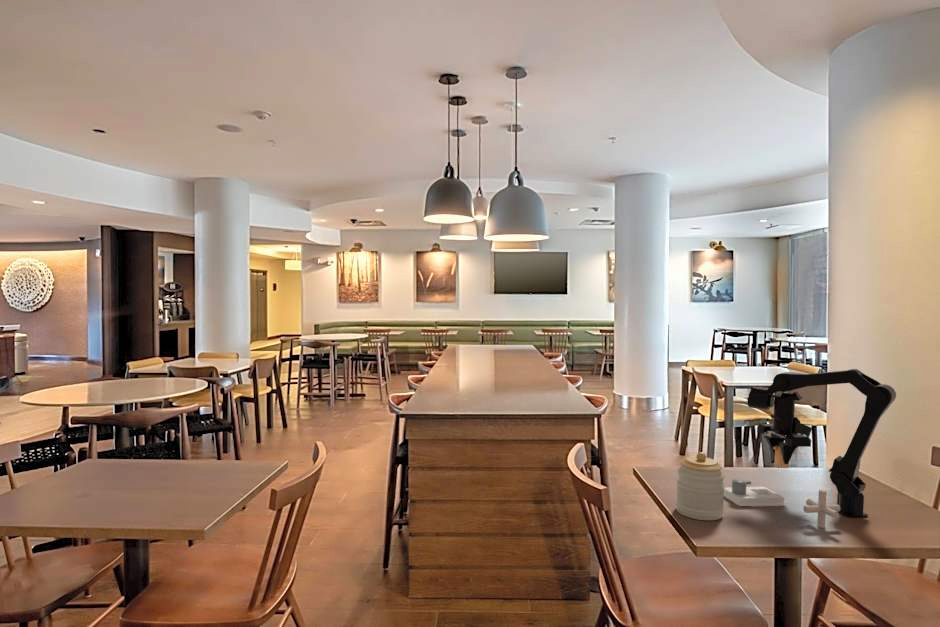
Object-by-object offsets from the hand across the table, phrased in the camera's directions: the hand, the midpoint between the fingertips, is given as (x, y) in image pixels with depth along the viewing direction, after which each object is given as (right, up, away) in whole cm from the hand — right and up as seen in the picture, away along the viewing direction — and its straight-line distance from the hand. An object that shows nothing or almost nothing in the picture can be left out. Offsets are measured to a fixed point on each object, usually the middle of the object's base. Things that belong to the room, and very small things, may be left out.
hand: (781, 462), depth 188 cm
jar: (-32, -11, -15) cm, 37 cm away
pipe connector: (-2, -12, -24) cm, 27 cm away
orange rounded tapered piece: (0, -1, 0) cm, 1 cm away
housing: (-11, -11, -4) cm, 16 cm away
